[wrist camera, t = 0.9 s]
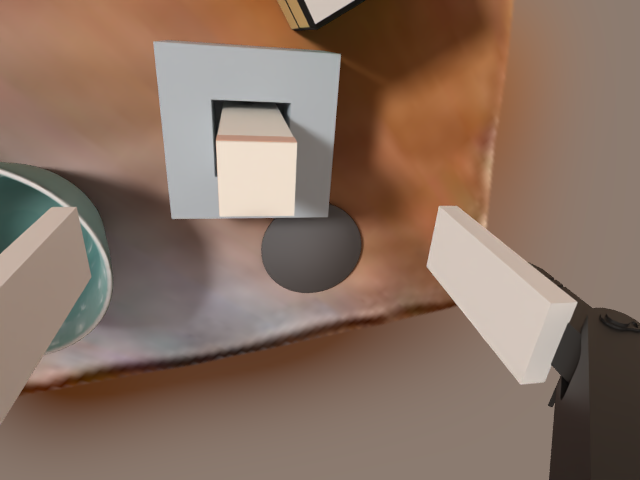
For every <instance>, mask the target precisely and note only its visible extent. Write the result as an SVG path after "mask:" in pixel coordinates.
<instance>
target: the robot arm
mask: <svg viewBox="0 0 640 480" xmlns="http://www.w3.org/2000/svg"><path fill="white" fill-rule="evenodd" d="M427 268H428V269H429V270H430V272H431V273H432V274H433V275H434V277H435V278H436V279H437V280H438V282H439V283H440V284H441V285H442V287H443V288H444V289H445V290H446V292H447V293H448V294H449V295H450V297H451V298H452V299H453V300H454V302H455V303H456V304H457V305H458V307H459V308H460V309H461V310H462V312H463V313H464V314H465V315H466V317H467V318H468V319H469V320H470V321H471V323H472V324H473V325H474V327H475V328H476V329H477V330H478V332H479V333H480V334H481V335H482V337H483V338H484V339H485V340H486V342H487V343H488V344H489V345H490V347H491V348H492V349H493V350H494V352H495V353H496V354H497V356H498V357H499V358H500V359H501V361H502V362H503V363H504V364H505V366H506V367H507V368H508V369H509V371H510V372H511V373H512V374H513V376H514V377H515V378H516V379H517V381H518V382H519V383H520V384H532V383H542V382H545V380H546V378H547V375H548V373H549V370H550V368H551V366H553V367H554V368H555V369H556V370H557V371H558V372H559V374H560V375H561V376H560V379H559V381H558V383H557V386H556V388H555V390H554V393H553V395H552V398H551V399H550V402H549V404H548V406H550V407H553V405H554V403H555V411H554V424H553V437H552V449H551V461H550V475H549V480H640V323H639V322H637V321H636V320H635V319H632V318H631V317H629V316H628V315H626V314H623V313H620V312H618V311H615V310H611V309H606V308H592V307H590V306H589V305H588V304H586V303H585V302H584V301H583V300H581V299H580V298H579V297H577V296H576V295H575V294H573V293H572V292H571V291H570V290H568V289H567V288H566V287H563V285H562V284H560V282H558V281H557V280H554V278H553V277H552V276H551V275H549V274H548V273H547V272H545V271H544V270H543V269H541V268H539V267H537V266H535V265H533V264H531V263H529V262H527V261H525V260H524V259H523V258H522V257H520V256H519V255H518V254H517V253H515V252H514V251H513V250H512V249H510V248H509V247H508V246H506V245H505V244H504V243H503V242H502V241H500V240H499V239H497V238H496V237H495V236H494V235H493V234H491V233H490V232H489V231H488V230H486V229H485V228H484V227H483V226H481V225H480V224H479V223H478V222H476V221H475V220H474V219H473V218H471V217H470V216H469V215H468V214H466V213H465V212H464V211H463V210H461V209H460V208H459V207H458V206H439V209H438V214H437V218H436V223H435V228H434V233H433V238H432V243H431V247H430V252H429V257H428V262H427ZM90 279H91V272H90V268H89V263H88V258H87V254H86V249H85V244H84V239H83V235H82V230H81V225H80V220H79V216H78V211H77V207H51V208H50V209H49V210H48V211H47V212H46V213H45V214H43V215H42V216H41V217H40V218H39V219H38V220H37V221H36V222H35V223H34V224H32V225H31V226H30V227H29V228H28V229H27V230H26V231H25V232H24V233H23V234H22V235H20V236H19V237H18V238H17V239H16V240H15V241H14V242H13V243H12V244H11V245H10V246H8V247H7V248H6V249H5V250H4V251H3V252H2V253H1V254H0V425H1V423H2V421H3V420H4V418H5V417H6V415H7V413H8V412H9V410H10V409H11V407H12V405H13V404H14V402H15V400H16V399H17V397H18V396H19V394H20V392H21V391H22V389H23V387H24V386H25V384H26V383H27V381H28V379H29V378H30V376H31V374H32V373H33V371H34V370H35V368H36V366H37V365H38V363H39V361H40V360H41V358H42V357H43V355H44V353H45V352H46V350H47V348H48V347H49V345H50V344H51V342H52V340H53V339H54V337H55V335H56V334H57V332H58V331H59V329H60V327H61V326H62V324H63V322H64V321H65V319H66V318H67V316H68V314H69V313H70V311H71V309H72V308H73V306H74V305H75V303H76V301H77V300H78V298H79V296H80V295H81V293H82V292H83V290H84V288H85V287H86V285H87V283H88V282H89V280H90Z"/></svg>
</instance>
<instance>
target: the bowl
mask: <svg viewBox="0 0 640 480" xmlns="http://www.w3.org/2000/svg"><path fill="white" fill-rule="evenodd" d="M51 207H77V211H78V216H79V220H80V225H81V230H82V235H83V239H84V244H85V249H86V254H87V258H88V263H89V268H90V272H91V279H90V280H89V282H88V283H87V285H86V287H85V288H84V290H83V292H82V293H81V295H80V296H79V298H78V300H77V301H76V303H75V305H74V306H73V308H72V309H71V311H70V313H69V314H68V316H67V318H66V319H65V321H64V322H63V324H62V326H61V327H60V329H59V331H58V332H57V334H56V335H55V337H54V339H53V340H52V342H51V344H50V345H49V347H48V348H47V350H46V352H45V353H44V355H46V354H49V353H53V352H56V351H59V350H62V349H64V348H66V347H68V346H70V345H72V344H74V343H76V342H77V341H79V340H81V339H82V338H84V337H85V336H86V335H88V334H89V333H90V332H91V331H92V330H93V329H94V328H95V327H96V326H97V325H98V323H99V322H100V321H101V319H102V318H103V316H104V315H105V313H106V311H107V309H108V306H109V304H110V301H111V296H112V291H113V273H112V265H111V259H110V253H109V247H108V243H107V239H106V235H105V230H104V226H103V222H102V220H101V217H100V215H99V213H98V211H97V209H96V208H95V206H94V205H93V203H92V202H91V201H90V199H89V198H88V197H87V196H86V195H85V194H84V193H83V192H82V191H81V190H80V189H79V188H77V187H76V186H75V185H74V184H72V183H71V182H69V181H68V180H66V179H64V178H63V177H61V176H59V175H57V174H55V173H53V172H50V171H48V170H45V169H42V168H39V167H36V166H31V165H26V164H18V163H6V162H0V254H1V253H2V252H3V251H4V250H5V249H6V248H7V247H8V246H10V245H11V244H12V243H13V242H14V241H15V240H16V239H17V238H18V237H19V236H20V235H22V234H23V233H24V232H25V231H26V230H27V229H28V228H29V227H30V226H31V225H32V224H34V223H35V222H36V221H37V220H38V219H39V218H40V217H41V216H42V215H43V214H45V213H46V212H47V211H48V210H49V209H50V208H51Z"/></svg>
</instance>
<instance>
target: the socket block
mask: <svg viewBox="0 0 640 480" xmlns="http://www.w3.org/2000/svg"><path fill="white" fill-rule="evenodd" d="M153 43H154V53H155V63H156V72H157V82H158V92H159V101H160V111H161V121H162V131H163V140H164V150H165V160H166V169H167V179H168V189H169V198H170V208H171V218H172V219H211V218H304V217H328V210H329V198H330V185H331V173H332V160H333V148H334V135H335V123H336V111H337V98H338V86H339V73H340V61H341V54H338V53H333V52H328V51H320V50H305V49H291V48H276V47H261V46H246V45H232V44H217V43H202V42H187V41H173V40H165V41H155V42H153ZM224 100H232V101H255V102H275V104H276V105H277V107H278V109H279V111H280V113H281V115H282V116H283V118H284V120H285V122H286V124H287V126H288V127H289V129H290V131H291V133H292V135H293V137H295V139H296V141H297V160H296V184H295V209H294V216H232V217H220V215H219V197H218V175H217V154H216V137H217V134H218V129H219V124H220V119H221V114H222V108H223V103H224Z"/></svg>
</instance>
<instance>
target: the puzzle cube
mask: <svg viewBox="0 0 640 480" xmlns="http://www.w3.org/2000/svg"><path fill="white" fill-rule="evenodd" d="M277 1H278V3H279V5H280V7H281V9H282V11H283V13H284V15H285V17H286V19H287V21H288V23H289V25H290V27H291V29H293V30H296V31H302V30H318V29H319V28H321V27H322V26H324V25H326V24H327V23H329V22H331V21H332V20H334V19H336V18H337V17H339V16H341V15H342V14H344V13H346V12H347V11H349V10H350V9H352V8H354V7H355V6H357V5H359V4H360V3H362V2H364V1H365V0H277Z"/></svg>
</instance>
